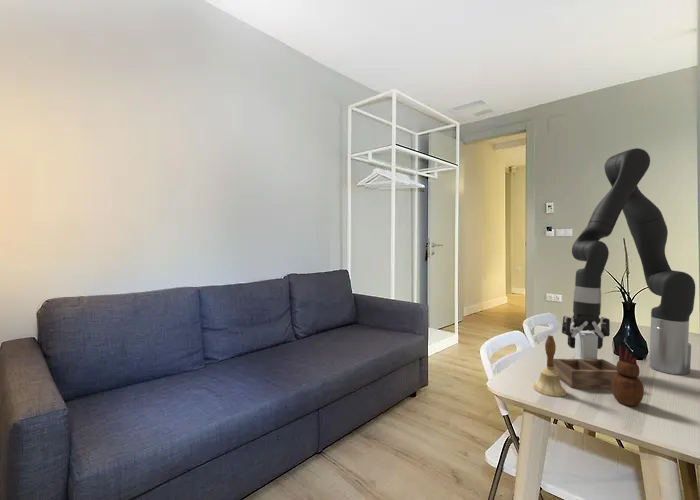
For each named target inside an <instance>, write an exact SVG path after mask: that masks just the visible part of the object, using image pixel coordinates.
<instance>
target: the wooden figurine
mask: <svg viewBox="0 0 700 500" xmlns="http://www.w3.org/2000/svg"><path fill="white" fill-rule="evenodd" d="M615 366H616V369H617V371H618V373H615V374H614V375H613V377H612V382H611V388H610V389H611V392H612V395H613V397H614V399H615V400H616V401H617V402H618V403H620V404H622V405H624V406H628V407H637V406H639V405H641V402H642V401H643V398H644V395H645V387H644V384H643V382H642V381H641V379H640V378H639V376H640V367H639V364H638V362H637V357H633V353H629V349H628V348H625V352H624V351H623V347H622V345H619V350H618V361H617V363H616V365H615Z"/></svg>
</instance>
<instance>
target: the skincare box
mask: <svg viewBox="0 0 700 500" xmlns="http://www.w3.org/2000/svg"><path fill="white" fill-rule="evenodd" d="M574 357H575V358H574V359H598V336H596V335H595V334H594V333H592V331H587V330H586V331H582V330H581V331H580V332H579V333H577V335H576V336H575V356H574Z"/></svg>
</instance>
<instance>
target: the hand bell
mask: <svg viewBox="0 0 700 500" xmlns="http://www.w3.org/2000/svg"><path fill="white" fill-rule="evenodd" d="M544 347H545V348H544V350H545V354H546V368H544V369H541V371H540V376H539V379H538V381H537V382H535V383H534V384H533V386H532V387H533V389H534V391H535V392H538V393H540V394H542V395H544V396H548V397H553V398H554V397H555V398H562V397H565V396H566V395H567V394H568V393H567V390H566V389H565V388H564V387H563V385H562V384H561V380H560V379H559V373H558V372H556V371H555V370H554V365H553V359H554V357H555V354H556V350H557V349H556V348H557V346H556V342H555V339H554V336H553V335H547V338H546V341H545V343H544Z"/></svg>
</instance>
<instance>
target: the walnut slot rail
mask: <svg viewBox="0 0 700 500" xmlns="http://www.w3.org/2000/svg"><path fill="white" fill-rule="evenodd" d="M553 365H554V370H555V371H556V372H558V373H559V379H560V382H562V383H564V384H565V385H566V386H568V387H570V388H571V389H612V388H611V382H612V377H613V375H614V374H615V373H618V371H617V369H616V366H617V365H615V364H613V363H611V362H609V361H607V360H605V359H603V358H602V359H601V358H600V359H599V358H597V359H575V358H553Z"/></svg>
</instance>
